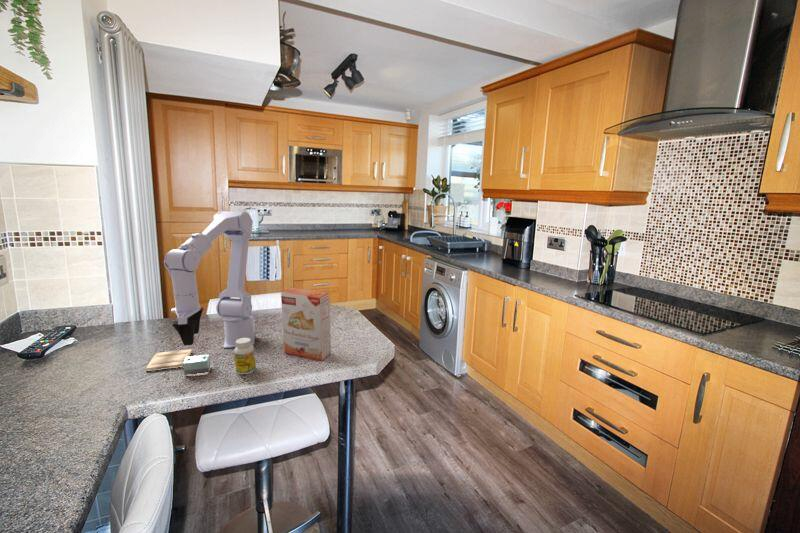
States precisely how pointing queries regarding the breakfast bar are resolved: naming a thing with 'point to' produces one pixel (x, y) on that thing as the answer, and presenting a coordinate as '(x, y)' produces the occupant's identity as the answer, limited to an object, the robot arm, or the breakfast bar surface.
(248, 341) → the supplement bottle
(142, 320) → the breakfast bar surface
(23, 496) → the breakfast bar surface
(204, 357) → the housing
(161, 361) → the plate
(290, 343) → the cracker box
